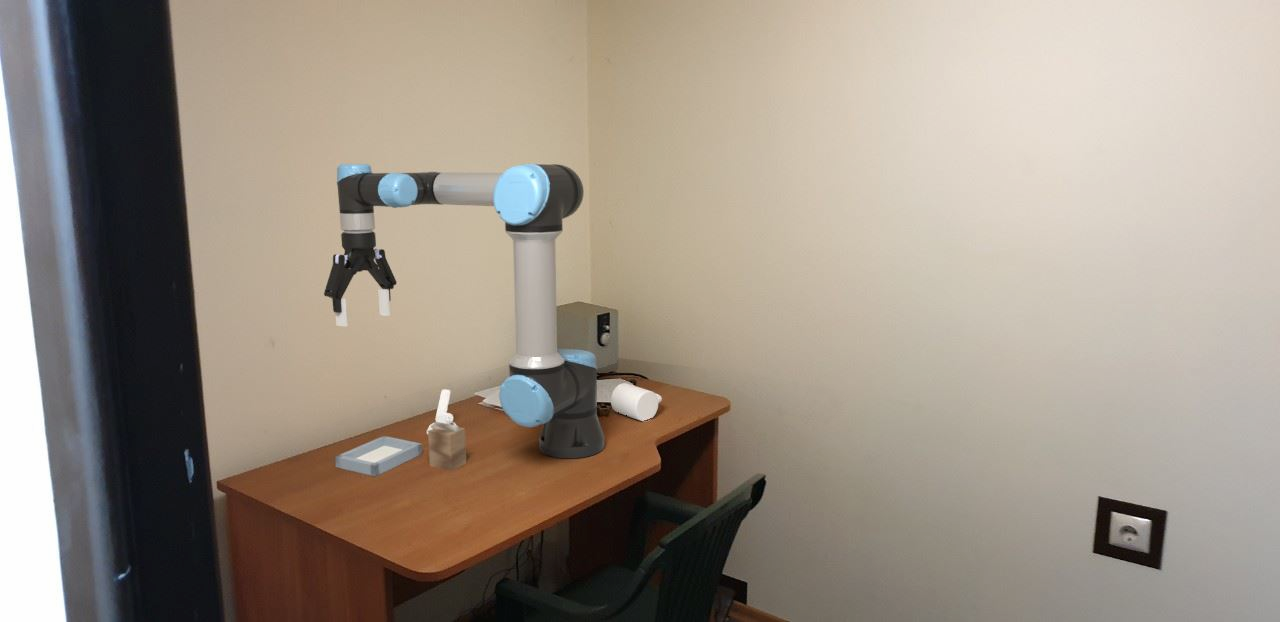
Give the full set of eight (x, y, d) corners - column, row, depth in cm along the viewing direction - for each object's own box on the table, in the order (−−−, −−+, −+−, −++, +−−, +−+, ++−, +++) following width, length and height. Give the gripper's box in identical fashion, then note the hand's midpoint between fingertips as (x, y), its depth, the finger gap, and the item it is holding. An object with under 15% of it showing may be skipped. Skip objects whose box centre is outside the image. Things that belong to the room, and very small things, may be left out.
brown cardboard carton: (466, 462, 170) (464, 423, 168) (451, 470, 165) (449, 430, 164) (445, 458, 172) (443, 419, 171) (429, 466, 168) (427, 425, 166)
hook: (463, 400, 197) (465, 391, 191) (455, 445, 192) (457, 438, 186) (433, 395, 196) (435, 387, 189) (424, 441, 190) (426, 434, 184)
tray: (422, 453, 175) (421, 443, 174) (375, 476, 162) (374, 465, 162) (384, 445, 180) (383, 435, 179) (335, 467, 167) (335, 456, 167)
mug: (635, 424, 195) (636, 394, 193) (610, 415, 202) (610, 386, 200) (669, 414, 203) (670, 385, 201) (644, 405, 210) (644, 377, 208)
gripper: (385, 226, 192) (390, 310, 196) (302, 235, 170) (310, 328, 174) (408, 227, 189) (412, 312, 193) (327, 236, 167) (334, 332, 171)
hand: (364, 320), depth 183 cm, fingers open, 13 cm apart
